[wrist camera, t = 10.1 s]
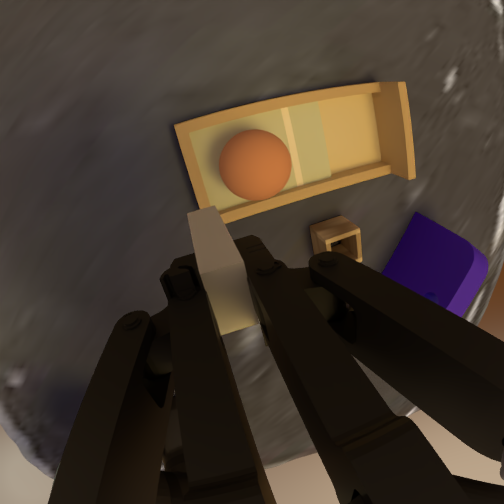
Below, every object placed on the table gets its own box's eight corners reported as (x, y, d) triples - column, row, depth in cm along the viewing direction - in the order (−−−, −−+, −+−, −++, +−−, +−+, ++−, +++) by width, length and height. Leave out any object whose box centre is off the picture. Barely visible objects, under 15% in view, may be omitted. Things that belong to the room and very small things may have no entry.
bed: (204, 222, 31) (210, 242, 27) (173, 124, 26) (174, 127, 22) (387, 167, 33) (415, 177, 29) (375, 82, 29) (405, 81, 24)
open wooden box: (314, 257, 36) (329, 273, 33) (309, 225, 34) (325, 240, 31) (344, 246, 37) (362, 261, 33) (341, 215, 35) (359, 228, 31)
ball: (224, 198, 30) (236, 220, 24) (207, 137, 27) (215, 144, 22) (284, 180, 30) (308, 197, 25) (270, 120, 27) (294, 124, 22)
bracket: (375, 282, 41) (429, 334, 30) (415, 211, 37) (480, 249, 27) (439, 306, 48) (483, 346, 37) (471, 252, 44) (520, 285, 34)
